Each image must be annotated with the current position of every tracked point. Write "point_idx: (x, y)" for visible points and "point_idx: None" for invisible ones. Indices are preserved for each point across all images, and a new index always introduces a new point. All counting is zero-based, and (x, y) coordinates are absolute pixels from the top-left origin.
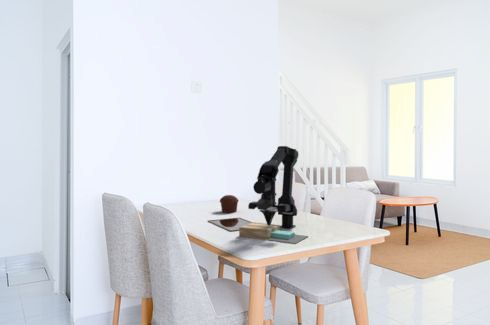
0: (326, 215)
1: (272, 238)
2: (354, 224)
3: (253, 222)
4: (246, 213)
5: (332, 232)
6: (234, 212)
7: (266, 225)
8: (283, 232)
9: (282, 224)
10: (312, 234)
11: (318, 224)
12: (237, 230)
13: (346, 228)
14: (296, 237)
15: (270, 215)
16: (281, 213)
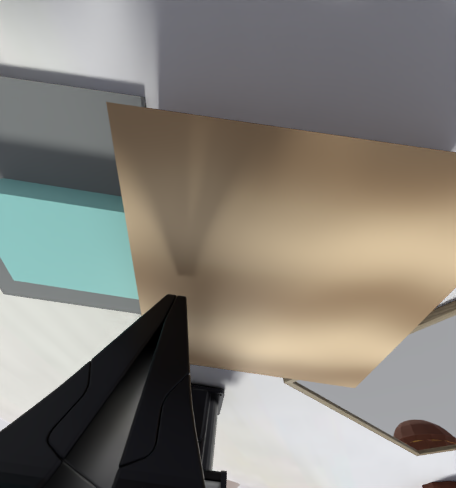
0: None
1: None
2: None
3: (357, 383)
4: (385, 478)
5: (11, 366)
6: (429, 483)
7: (233, 335)
8: (66, 253)
9: (204, 402)
10: (37, 331)
11: None
12: (448, 306)
13: (26, 403)
14: None
15: (15, 442)
16: (209, 481)
